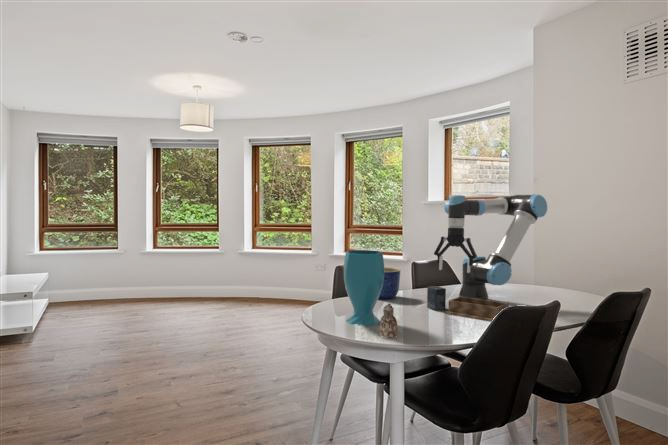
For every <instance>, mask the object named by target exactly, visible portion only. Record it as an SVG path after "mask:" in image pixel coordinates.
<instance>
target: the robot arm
mask: <svg viewBox="0 0 668 445" xmlns="http://www.w3.org/2000/svg"><path fill="white" fill-rule="evenodd" d="M443 210H444V212H445V213H446V214H447V215H448V216H447V218H448V221H447V226H448V228H447V236H443V235H442V236H441V237H440V241H439V243H438V245H437V247H436V249H435V251H434V253H433V255H435V256H437V263H438V264H439V265H438V268H439V269H438V270H439V271H441V270H443V266H444V265H443V261H444V260H443V259H444V257H443V256H442V255H443V254H444V253H445V252H446V251H447V250H448V249H449V248H450V247H456V248H457V247H458V248H459V247H460V248H461V250H462V251H463V252H464V253H465V255H466V256H467V257H464V258H463V259H462V285H461V288H460V291H459V293H458V297H460V296H461V297H468V298H475V299H482V300H489V294H488V291H487V287H486V284H489V285H491V286H502V285H503V286H504V285H505V284H507V283H508V282H509V281H510V279H511V278H512V267H511V266H512V263H511V260H512V258H513V256H514V255H515V253H516V251H517V249H518V247H519V246H520V245H521V242H522V241H523V239H524V237H525V236H526V233H527V231H528V230H529V228H530V226H531V225H533V224H536V222H537V220H538V219H539V218H542V217H545V215H547V213H548V203H547V199H546V198H545V197H544V196H543V195H541V194H534V193H533V194H515V195H508V196H499V197H497V198H494V199H493V198H492V199H491V198H489V199H466V196H465V195H461V194H460V195H459V194H457V195H456V194H455V195H454V194H453V195H450V196H449V199H448V200H447V201H446V202H445V203H444V209H443ZM484 214H498V215H506V216H512V217H513V219H512V221H511V223H510V224H509V226H508V228H507V230H506V232H505V233H504V235H503V237H502V239H501V240H500V242H499V244H498V245H497V247H496V249H495V251H494V253H489V255H488V257H487V258H486V256H478V255H477V254H476V251H475V249H474V245H473V244H472V242H471V237H466V238H465V228H464V227H465V216H477V217H478V216H482V215H484ZM446 241H447V244H445V246H444V247H443V245H444V243H445V242H446ZM464 242H465V243H467V244H466V245H467V246H468V248H467V247H466V246H465V244H464ZM442 247H443V248H442ZM468 249H469V250H468Z"/></svg>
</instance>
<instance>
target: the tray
mask: <svg viewBox="0 0 668 445" xmlns="http://www.w3.org/2000/svg"><path fill="white" fill-rule="evenodd" d="M506 307H508V308H509V303H508V302H500V301H494V300H489V299H488V300H482V299H475V298H468V297H461V296H460V297H459V296H457V297H454V298H452V299H449V300H448V310H444V314H446V315H451V316H456V317H457V316H458V317H463V318H469V319H472V320H473V319H474V320H480V321H486V322H491V321H492V320H493V318H494V317H495V316H496V315H497V314H498V313H499V312H500V311H501V310H502V309H504V308H506Z"/></svg>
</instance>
